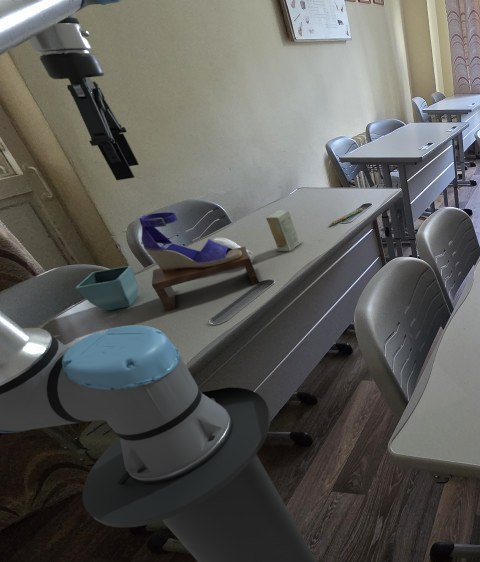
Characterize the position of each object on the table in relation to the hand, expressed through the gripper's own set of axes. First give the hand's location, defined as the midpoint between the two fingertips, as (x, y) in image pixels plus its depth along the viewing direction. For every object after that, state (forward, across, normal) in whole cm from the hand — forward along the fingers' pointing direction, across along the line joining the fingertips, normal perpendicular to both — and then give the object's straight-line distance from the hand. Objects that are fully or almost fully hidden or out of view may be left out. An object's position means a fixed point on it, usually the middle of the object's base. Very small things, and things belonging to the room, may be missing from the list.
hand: (128, 172), depth 82 cm
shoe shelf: (+37, +15, -3) cm, 40 cm away
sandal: (+29, +16, -3) cm, 33 cm away
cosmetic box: (+37, +30, -26) cm, 54 cm away
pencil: (+37, +44, -50) cm, 76 cm away
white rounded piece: (+33, +28, -11) cm, 44 cm away
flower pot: (+37, +22, +18) cm, 47 cm away
